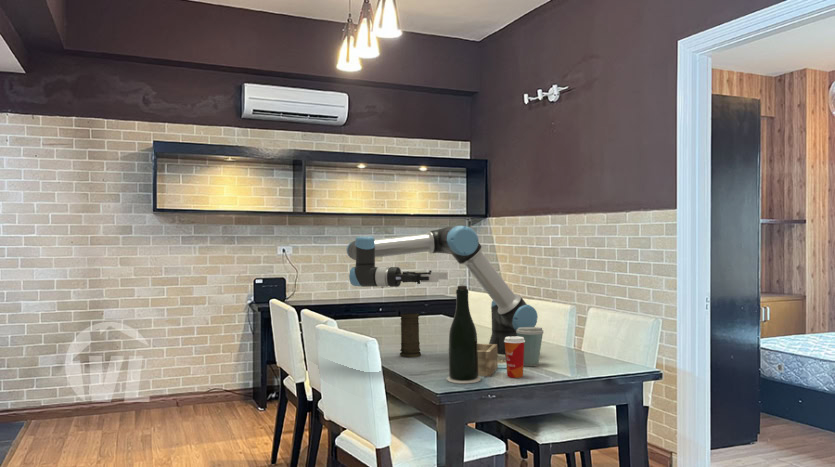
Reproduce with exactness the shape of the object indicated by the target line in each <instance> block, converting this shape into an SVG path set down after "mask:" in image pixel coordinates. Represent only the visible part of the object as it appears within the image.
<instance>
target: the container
mask: <svg viewBox="0 0 835 467" xmlns="http://www.w3.org/2000/svg"><path fill="white" fill-rule="evenodd" d="M399 317H400V338H401V340H400V341H401V342H400V349H399V351H400V353H399V355H400V357H402V358H418V357H420V356H422V355H421V354H422V353H421V348H420V323H419V320H420V318H419V317H420V313H418V312H403V313H400V314H399Z"/></svg>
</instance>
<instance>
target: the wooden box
mask: <svg viewBox="0 0 835 467" xmlns="http://www.w3.org/2000/svg"><path fill="white" fill-rule="evenodd" d="M477 346H478V376H479V377H491V376H492V375H493V374H494V373H495V371H497V369H498V368H499V367H498V366H499V365H498V362H499V360H498V359H499V358H498V357H499V355H498V353H497V344H489V343H477Z"/></svg>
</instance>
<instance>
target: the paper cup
mask: <svg viewBox="0 0 835 467" xmlns="http://www.w3.org/2000/svg"><path fill="white" fill-rule="evenodd" d="M504 342H505V353H506V354H505V364H506V366H505V367H506V374H507V375H506V376H507V377H508V378H514V379H520V378H523V377H524V365H523V363H524V342H525V340H524V338H523V337H519V336H515V337H514V336H511V337H505V340H504Z"/></svg>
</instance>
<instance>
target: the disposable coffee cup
mask: <svg viewBox="0 0 835 467" xmlns="http://www.w3.org/2000/svg"><path fill="white" fill-rule="evenodd" d="M516 332H517V336H519V337H523V338H524V340H525V342H524V363H523V367H524V366H525V367H537V366H538V365H539V359H540V354H541V346H542V340H543V334H544V329H543V327H539V326H535V327H520V328H518V329H517V330H516Z"/></svg>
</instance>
